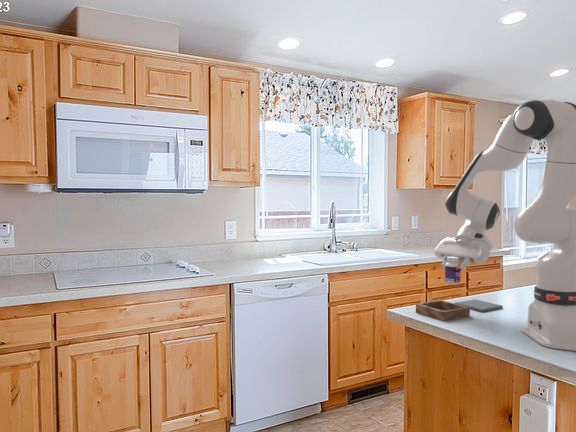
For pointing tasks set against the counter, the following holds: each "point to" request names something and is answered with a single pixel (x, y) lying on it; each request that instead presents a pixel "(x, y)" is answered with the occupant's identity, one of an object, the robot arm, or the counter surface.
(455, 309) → the wooden tray
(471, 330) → the counter surface
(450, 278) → the pill bottle
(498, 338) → the counter surface
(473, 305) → the rubber mat
